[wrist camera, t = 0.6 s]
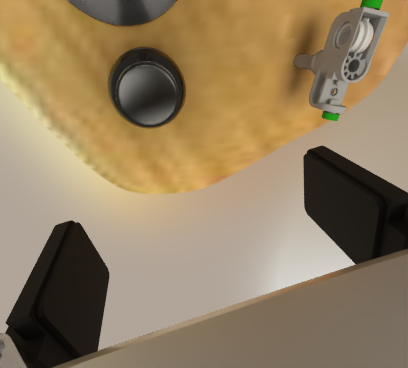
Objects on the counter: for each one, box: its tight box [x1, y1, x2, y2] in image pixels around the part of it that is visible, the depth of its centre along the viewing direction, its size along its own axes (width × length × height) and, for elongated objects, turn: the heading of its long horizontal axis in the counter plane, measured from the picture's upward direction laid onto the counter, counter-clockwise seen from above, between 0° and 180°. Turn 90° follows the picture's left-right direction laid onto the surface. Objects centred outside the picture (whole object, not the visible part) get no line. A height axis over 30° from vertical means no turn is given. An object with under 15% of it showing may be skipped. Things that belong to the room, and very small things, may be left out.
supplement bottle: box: [108, 47, 186, 128], centre depth 24 cm, size 7×7×12 cm
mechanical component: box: [294, 0, 390, 121], centre depth 28 cm, size 3×10×10 cm, turn 172°
